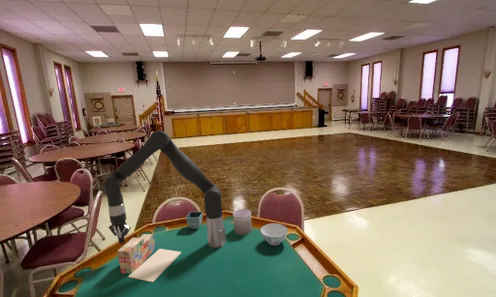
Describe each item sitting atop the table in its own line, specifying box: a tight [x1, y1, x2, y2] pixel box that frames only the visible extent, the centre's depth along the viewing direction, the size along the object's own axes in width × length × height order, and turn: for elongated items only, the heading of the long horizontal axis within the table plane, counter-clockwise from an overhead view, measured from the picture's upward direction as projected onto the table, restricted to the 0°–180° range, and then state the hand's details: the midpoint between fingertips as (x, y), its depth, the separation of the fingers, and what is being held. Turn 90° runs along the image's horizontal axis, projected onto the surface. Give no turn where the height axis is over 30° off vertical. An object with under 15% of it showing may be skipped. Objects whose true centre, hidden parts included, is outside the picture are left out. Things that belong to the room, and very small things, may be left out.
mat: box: [127, 248, 182, 283], centre depth 131 cm, size 14×24×1 cm, turn 162°
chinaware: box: [260, 223, 288, 246], centre depth 145 cm, size 15×15×8 cm
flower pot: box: [185, 211, 204, 230], centre depth 167 cm, size 9×9×9 cm
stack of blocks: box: [117, 233, 156, 275], centre depth 133 cm, size 21×6×12 cm, turn 169°
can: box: [232, 208, 253, 236], centre depth 160 cm, size 11×11×12 cm
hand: (121, 242), depth 135 cm, fingers closed
